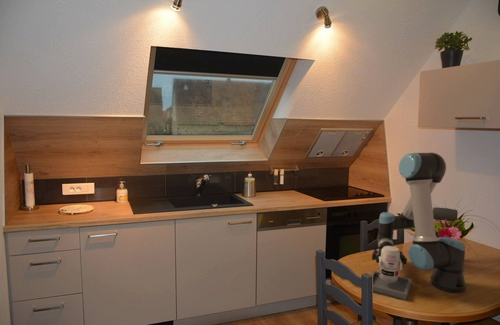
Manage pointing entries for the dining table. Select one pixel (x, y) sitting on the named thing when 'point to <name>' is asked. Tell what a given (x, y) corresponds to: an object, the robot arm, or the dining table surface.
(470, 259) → the dining table surface
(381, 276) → the supplement can
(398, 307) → the dining table surface
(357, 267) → the dining table surface
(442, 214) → the rubber mallet
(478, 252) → the dining table surface
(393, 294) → the tray
